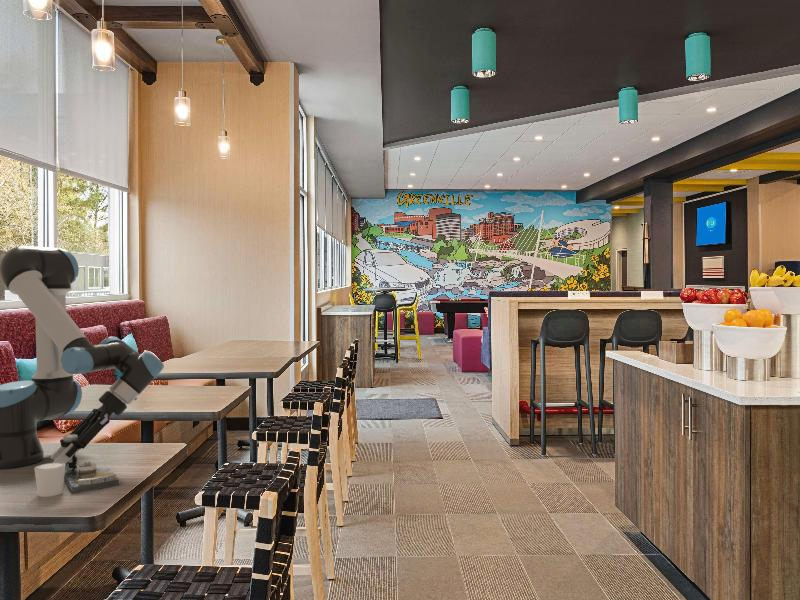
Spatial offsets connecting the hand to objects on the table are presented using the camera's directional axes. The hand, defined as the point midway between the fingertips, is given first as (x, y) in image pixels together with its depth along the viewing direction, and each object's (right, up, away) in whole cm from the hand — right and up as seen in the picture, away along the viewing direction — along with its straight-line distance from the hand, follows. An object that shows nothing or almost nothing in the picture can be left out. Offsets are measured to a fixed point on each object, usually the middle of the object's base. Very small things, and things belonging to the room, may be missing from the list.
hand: (55, 462), depth 177 cm
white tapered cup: (+7, -4, -16) cm, 18 cm away
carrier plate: (+13, -3, -7) cm, 15 cm away
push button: (+3, -3, +2) cm, 5 cm away
